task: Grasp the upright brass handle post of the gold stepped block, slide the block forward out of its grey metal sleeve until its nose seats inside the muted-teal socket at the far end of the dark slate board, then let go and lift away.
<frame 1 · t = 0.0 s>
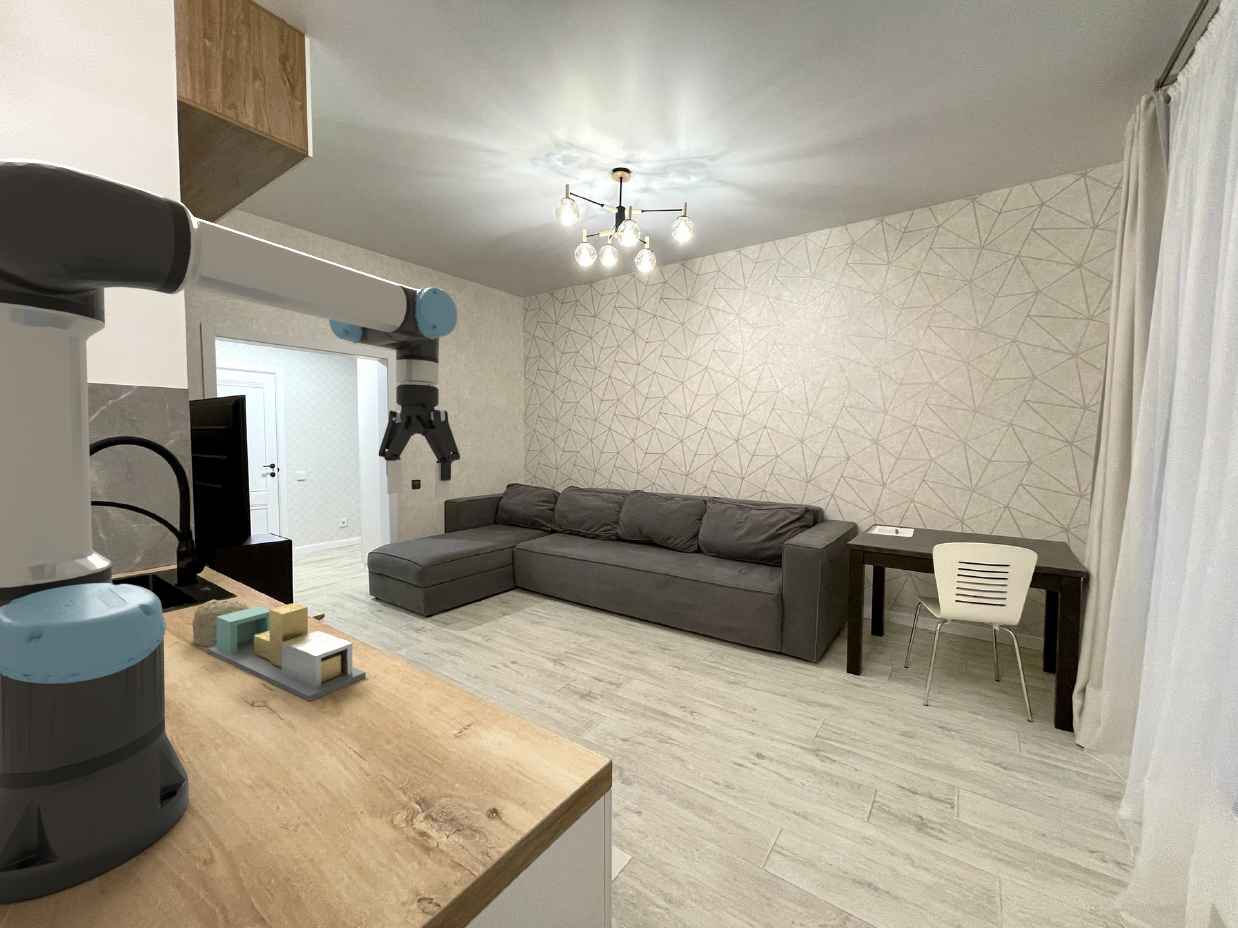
hand: (417, 495, 97), 28 cm above the counter, fingers open, 13 cm apart
socket: (245, 648, 92), resting on slate board
sponge: (223, 638, 97), on the counter
slate board: (282, 664, 86), on the counter
gold stepped block: (295, 637, 84), point 6 cm above the counter, slide at 0.0 cm
outer sleeve: (317, 679, 81), resting on slate board
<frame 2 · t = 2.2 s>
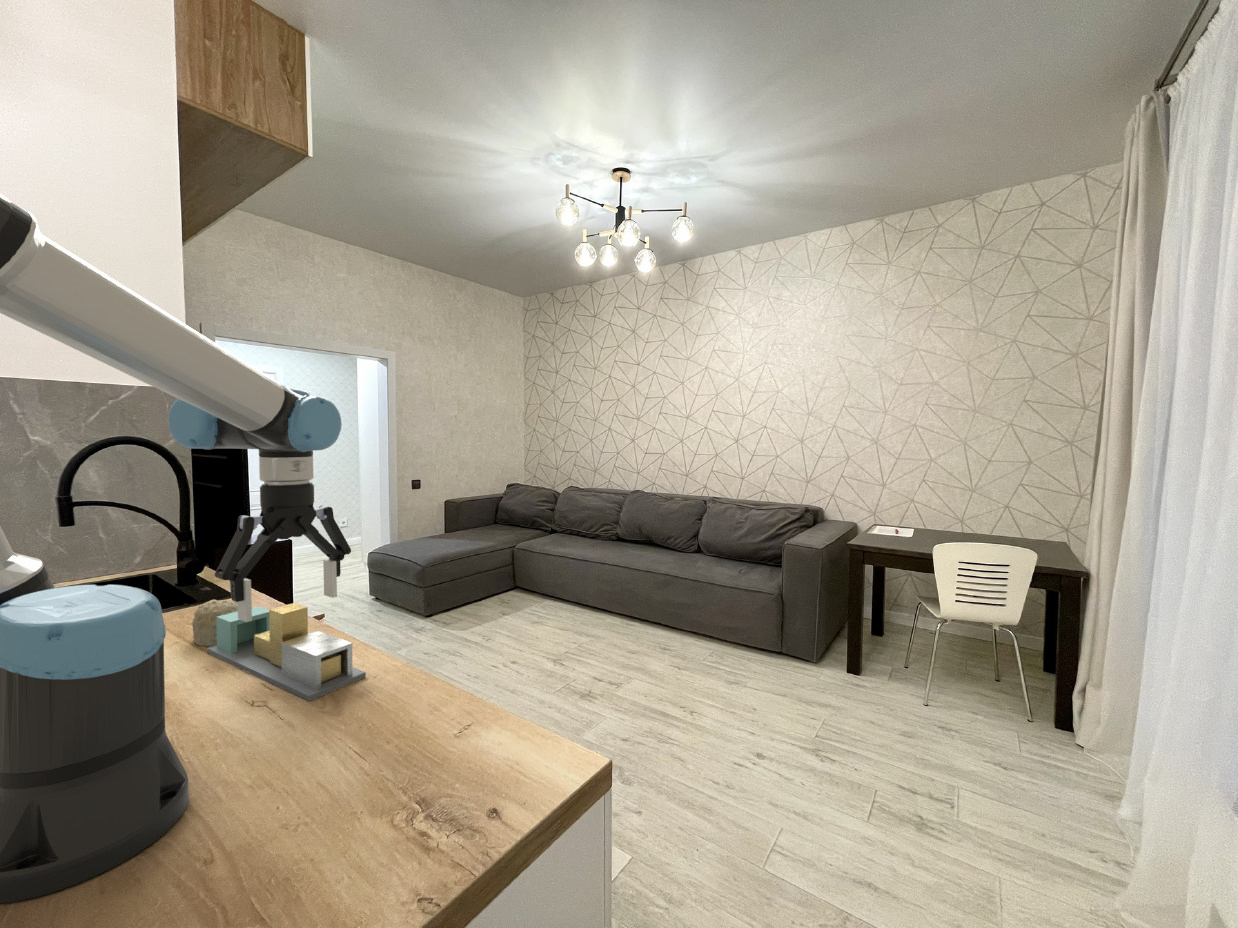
hand: (290, 607, 85), 10 cm above the counter, fingers open, 13 cm apart
nothing on the counter moved.
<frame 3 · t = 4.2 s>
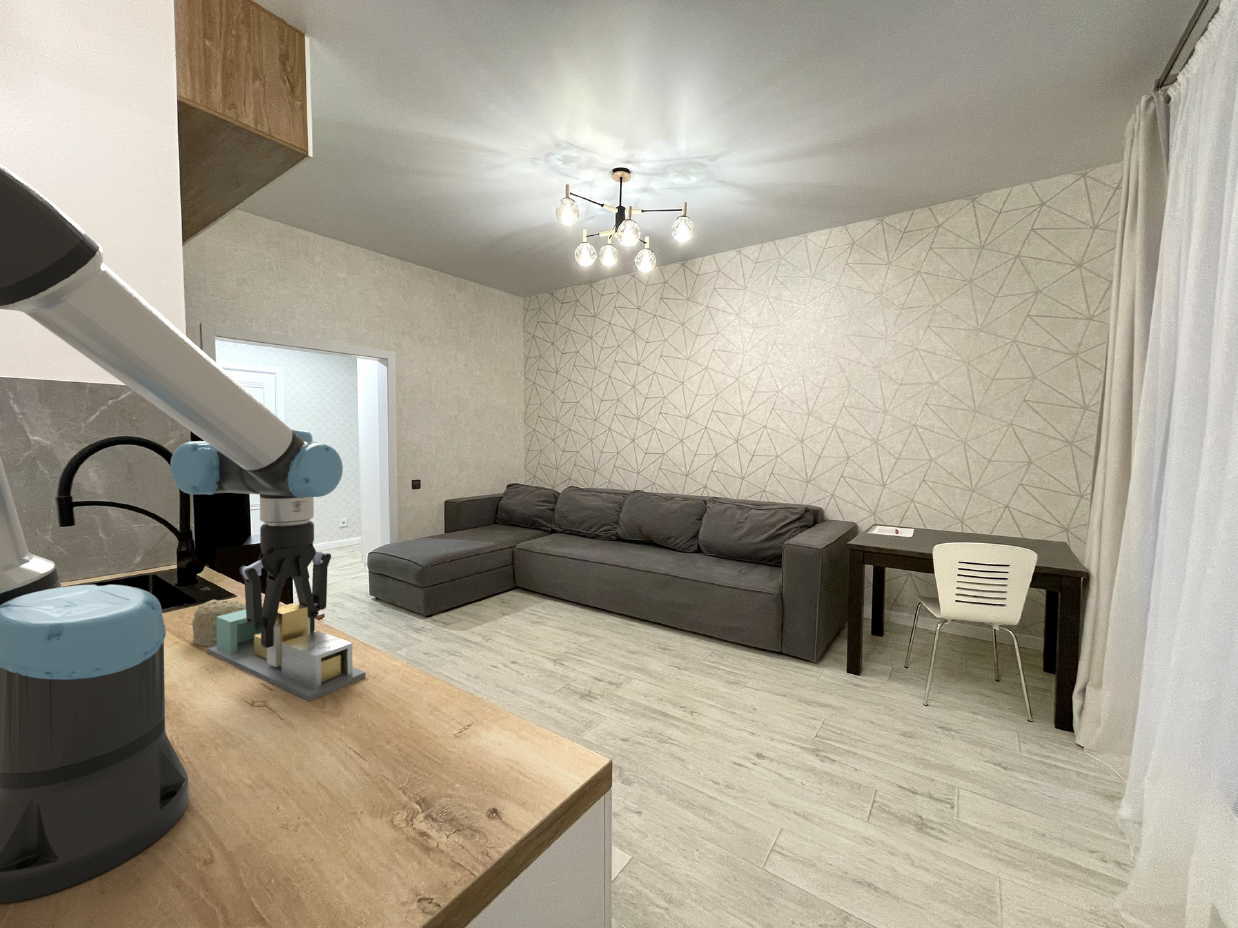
hand: (289, 658, 85), 1 cm above the counter, fingers closed on gold stepped block, 4 cm apart
gold stepped block: (295, 637, 84), point 6 cm above the counter, slide at 0.0 cm, touching gripper
everything else where it was.
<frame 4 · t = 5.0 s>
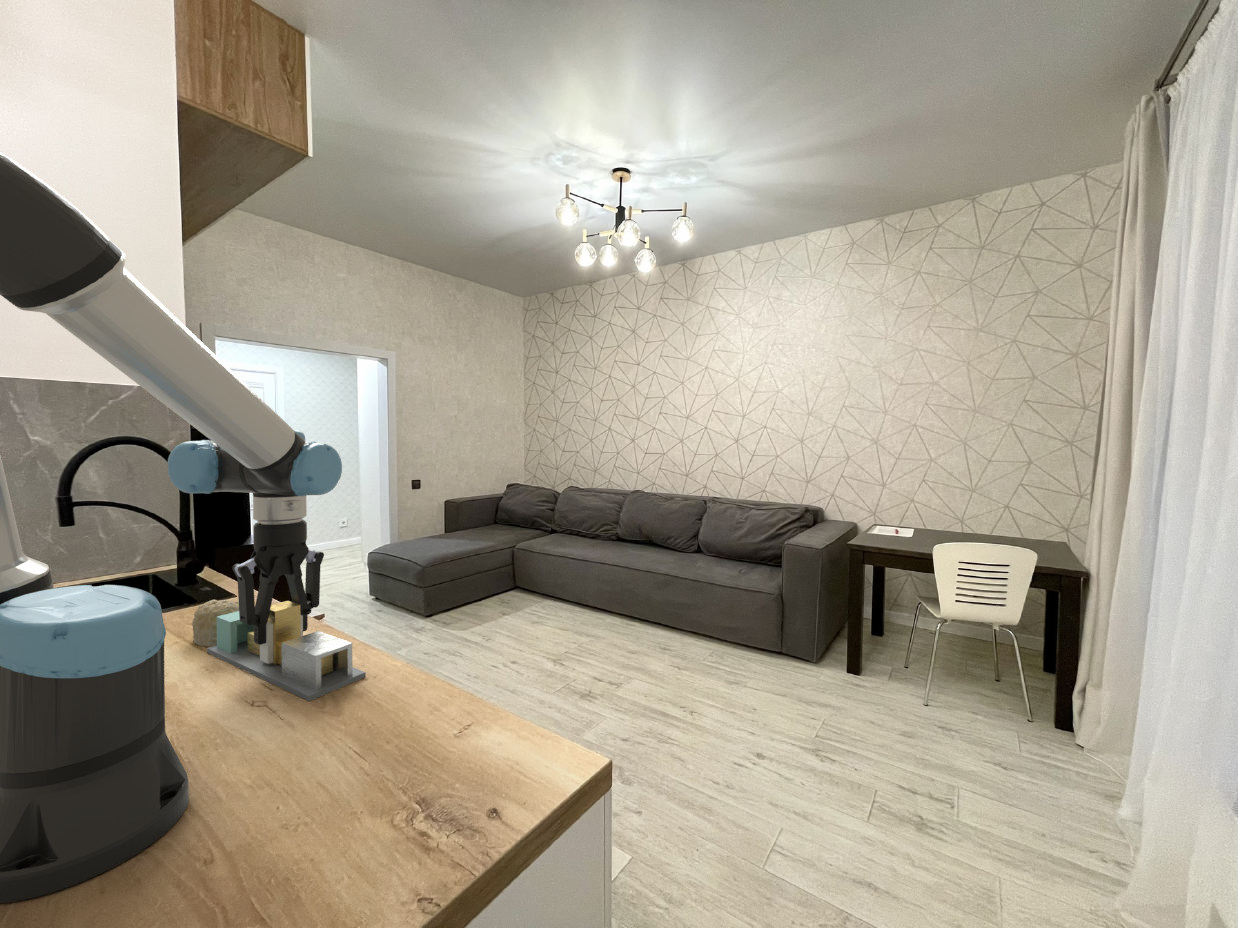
hand: (281, 655, 86), 1 cm above the counter, fingers closed on gold stepped block, 4 cm apart
gold stepped block: (288, 634, 85), point 6 cm above the counter, slide at 2.2 cm, touching gripper
everything else where it was.
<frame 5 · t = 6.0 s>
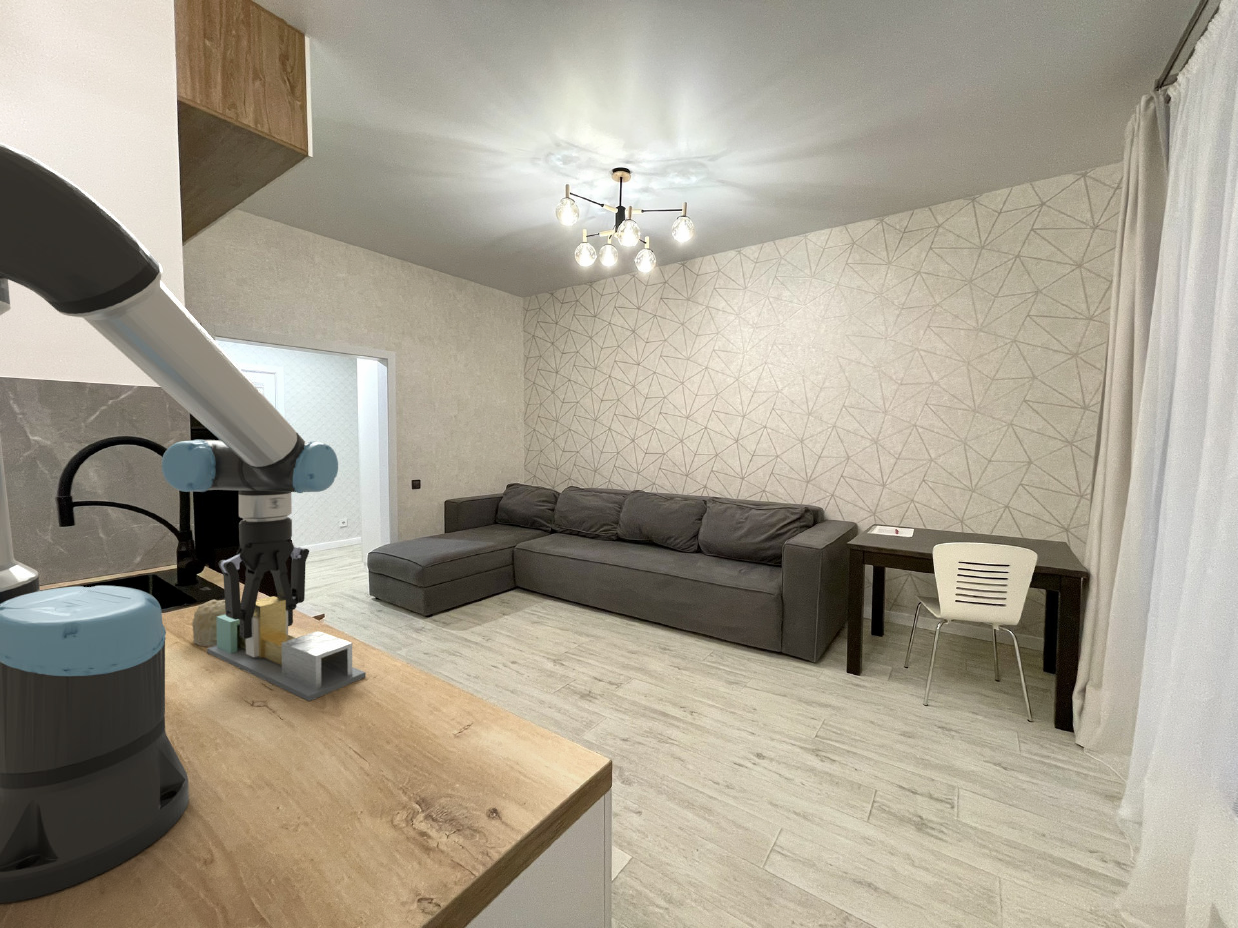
hand: (267, 649, 88), 1 cm above the counter, fingers closed on gold stepped block, 4 cm apart
gold stepped block: (273, 628, 87), point 6 cm above the counter, slide at 6.8 cm, touching gripper
everything else where it was.
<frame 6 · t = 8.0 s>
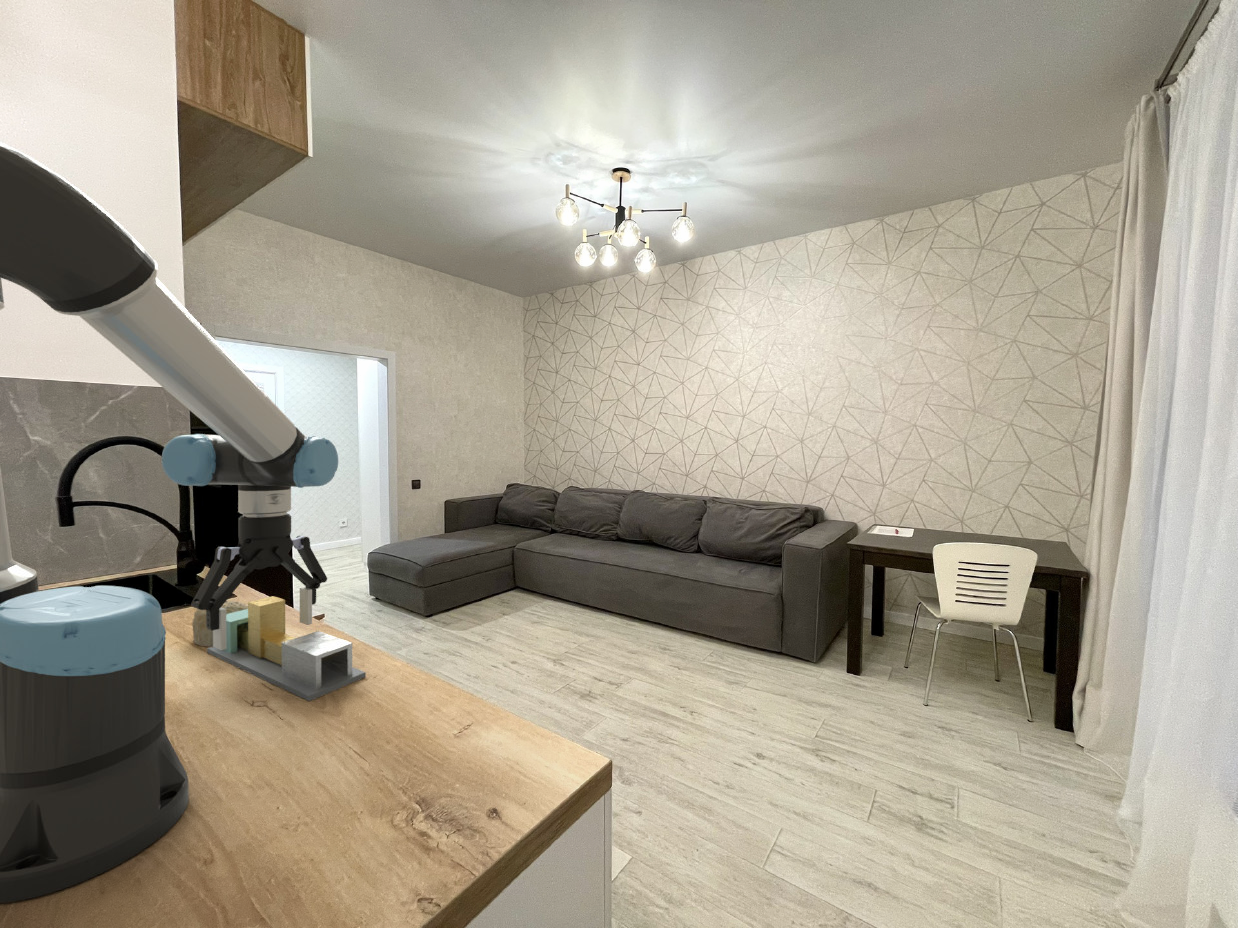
hand: (265, 634, 88), 4 cm above the counter, fingers open, 13 cm apart
gold stepped block: (273, 628, 87), point 6 cm above the counter, slide at 7.0 cm
everything else where it was.
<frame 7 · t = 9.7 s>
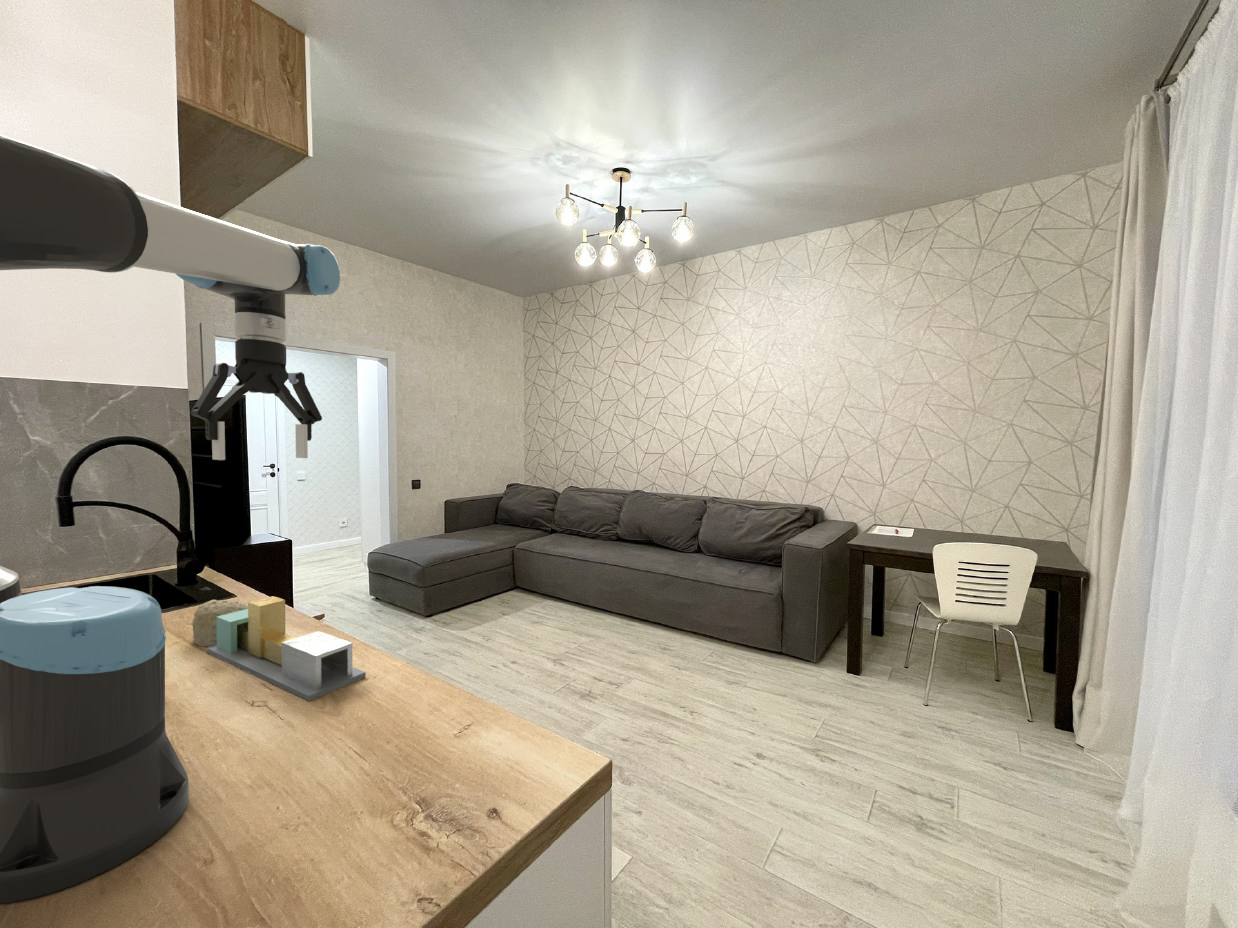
hand: (262, 459, 92), 35 cm above the counter, fingers open, 13 cm apart
nothing on the counter moved.
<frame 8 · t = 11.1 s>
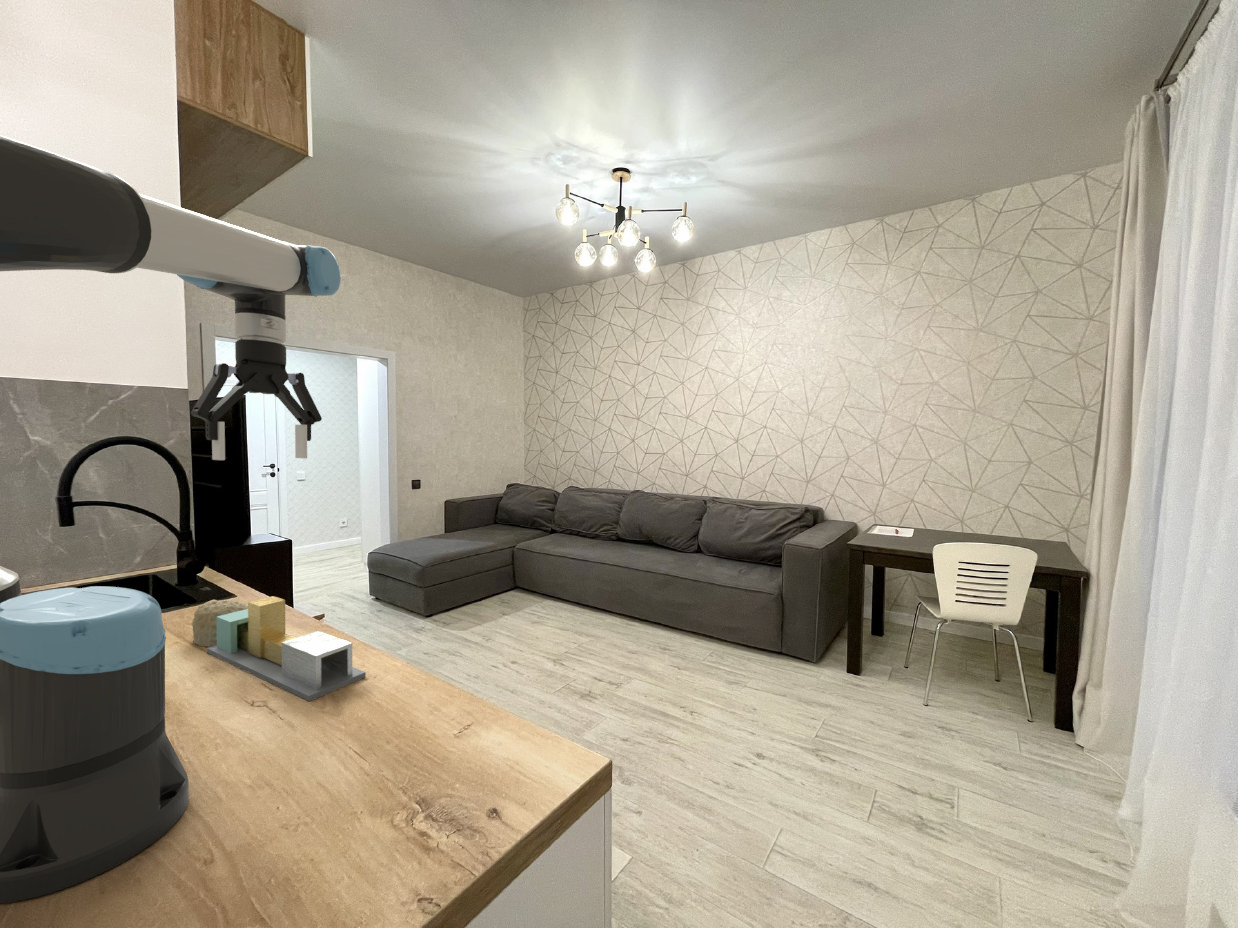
hand: (262, 459, 92), 35 cm above the counter, fingers open, 13 cm apart
nothing on the counter moved.
at the end: gold stepped block slide at 7.0 cm; the gripper is holding nothing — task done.
